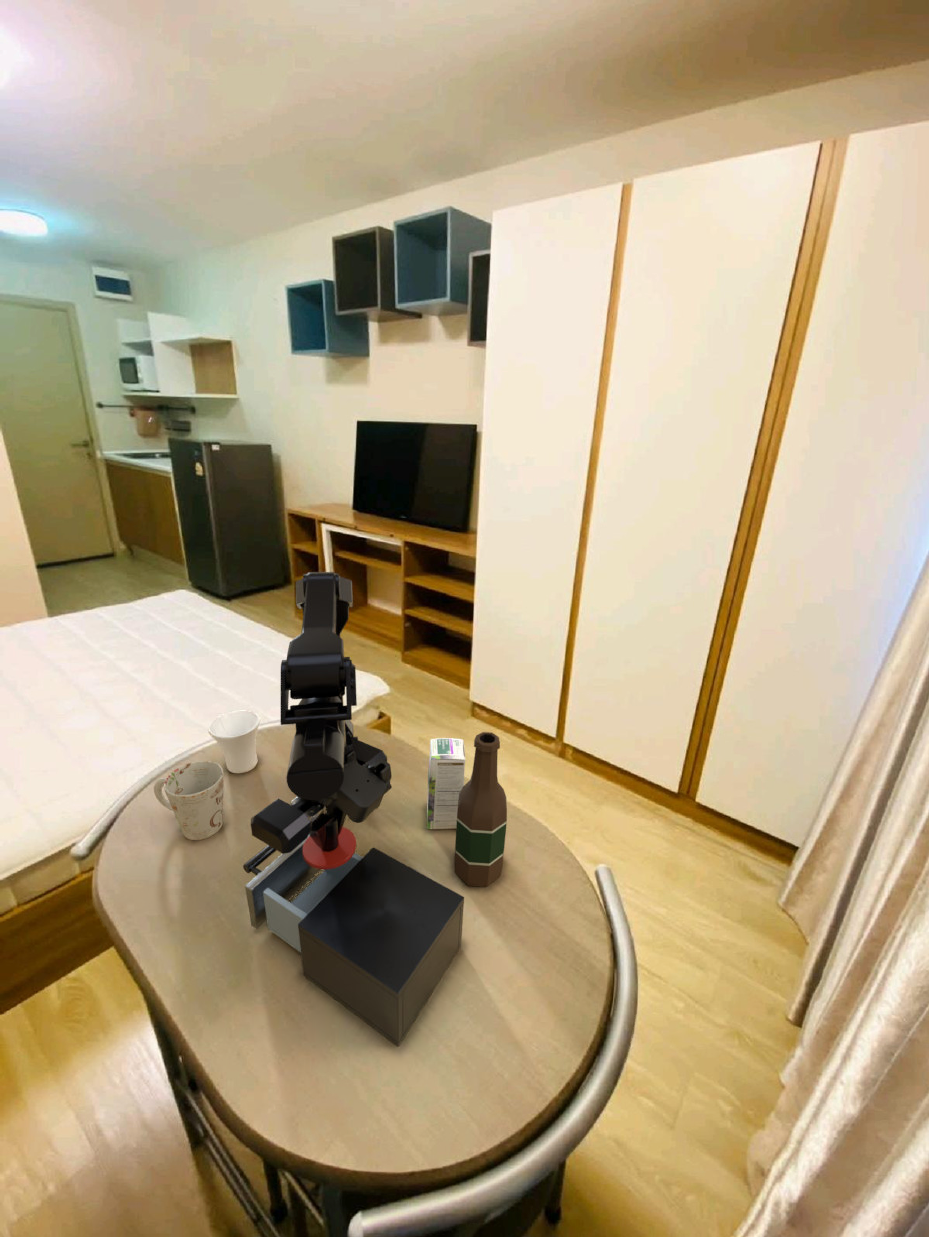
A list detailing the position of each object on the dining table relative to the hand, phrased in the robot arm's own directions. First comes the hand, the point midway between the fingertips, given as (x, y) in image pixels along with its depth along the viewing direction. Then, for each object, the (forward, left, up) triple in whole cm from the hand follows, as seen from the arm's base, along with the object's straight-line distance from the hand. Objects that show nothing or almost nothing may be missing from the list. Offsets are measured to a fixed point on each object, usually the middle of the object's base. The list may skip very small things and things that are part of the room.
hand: (328, 840), depth 69 cm
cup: (-12, -35, -11) cm, 39 cm away
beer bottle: (-16, +15, -11) cm, 24 cm away
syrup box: (-22, +5, -11) cm, 25 cm away
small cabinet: (+3, +12, -11) cm, 16 cm away
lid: (0, 0, -1) cm, 1 cm away
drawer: (+3, -2, -10) cm, 11 cm away
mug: (+2, -29, -11) cm, 32 cm away
